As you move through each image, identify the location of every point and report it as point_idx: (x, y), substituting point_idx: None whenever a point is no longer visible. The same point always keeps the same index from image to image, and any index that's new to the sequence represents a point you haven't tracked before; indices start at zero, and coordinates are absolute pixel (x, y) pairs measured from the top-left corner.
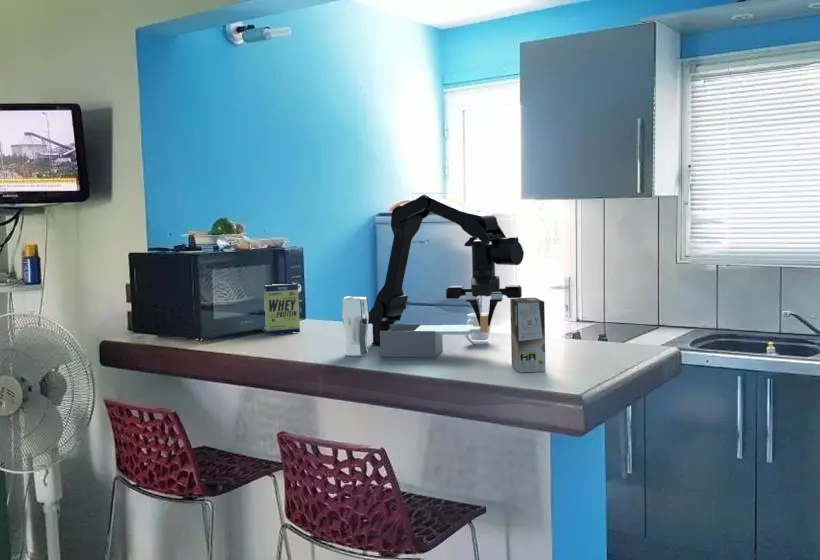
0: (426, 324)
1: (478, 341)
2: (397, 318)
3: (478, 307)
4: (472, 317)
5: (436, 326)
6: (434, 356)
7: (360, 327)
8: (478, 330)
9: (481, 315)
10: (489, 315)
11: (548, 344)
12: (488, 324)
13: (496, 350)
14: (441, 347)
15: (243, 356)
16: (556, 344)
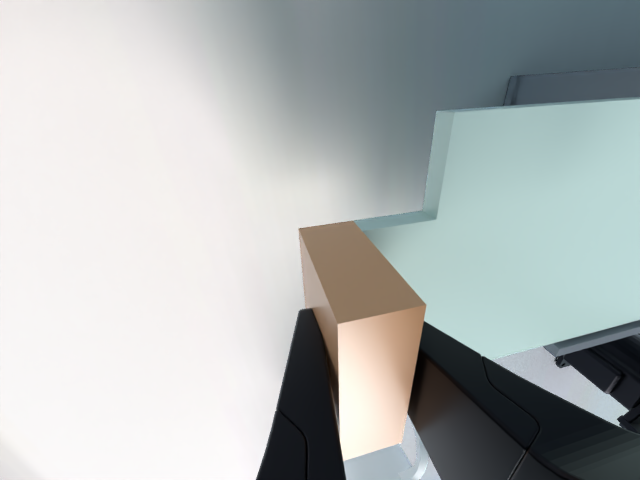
0: (618, 331)
1: None
2: (634, 420)
3: (517, 438)
4: None
5: (594, 298)
6: (530, 75)
7: None
8: (373, 224)
9: (408, 338)
10: (317, 377)
11: (105, 457)
12: (310, 313)
13: (273, 325)
14: None
15: None
16: (72, 466)
